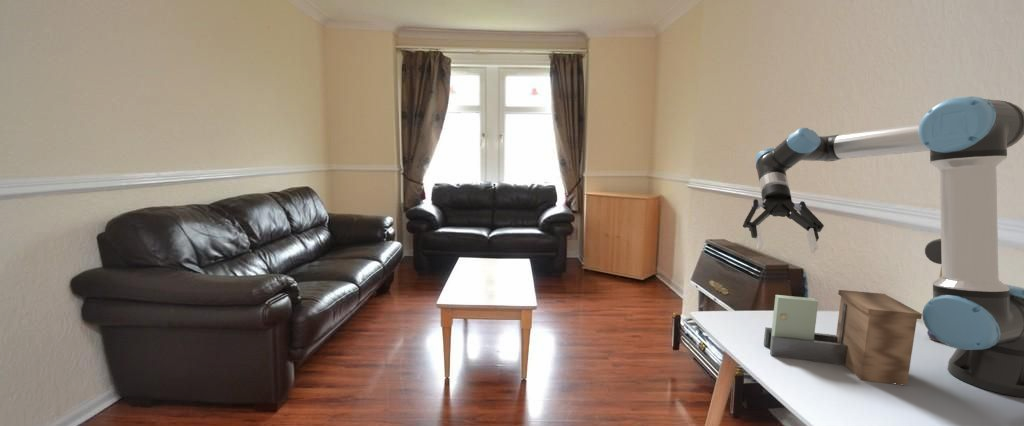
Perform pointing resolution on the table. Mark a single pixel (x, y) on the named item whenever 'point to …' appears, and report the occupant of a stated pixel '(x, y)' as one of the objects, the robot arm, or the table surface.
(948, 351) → the table surface
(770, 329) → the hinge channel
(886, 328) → the walnut cabinet
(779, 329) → the cabinet door
